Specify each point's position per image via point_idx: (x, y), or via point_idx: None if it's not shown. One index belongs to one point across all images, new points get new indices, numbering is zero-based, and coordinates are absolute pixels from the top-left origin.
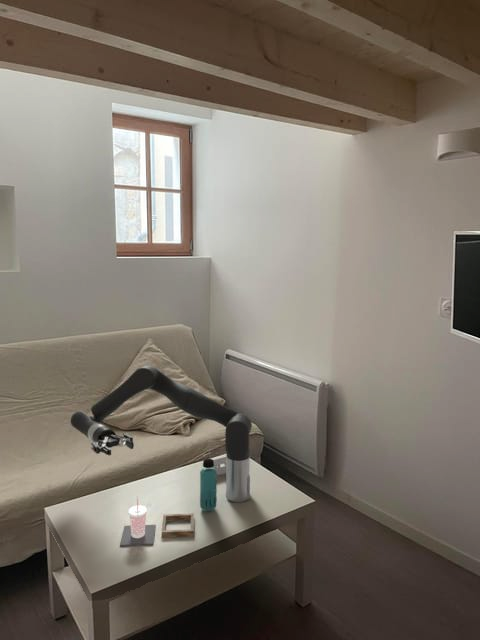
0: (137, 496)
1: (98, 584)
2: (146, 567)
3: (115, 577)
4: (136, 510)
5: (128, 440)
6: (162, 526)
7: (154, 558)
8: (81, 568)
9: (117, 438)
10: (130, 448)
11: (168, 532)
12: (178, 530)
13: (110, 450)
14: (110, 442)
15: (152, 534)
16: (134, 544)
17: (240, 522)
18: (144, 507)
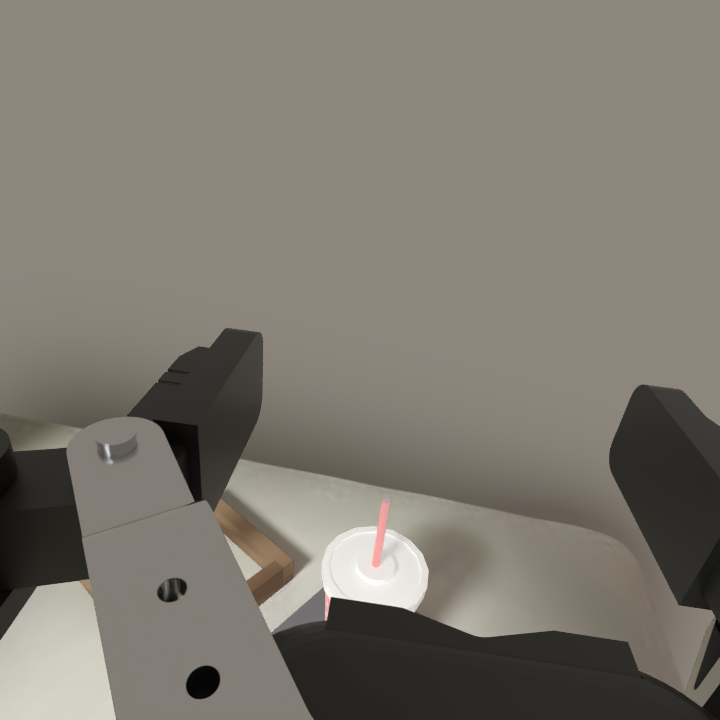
0: (384, 501)
1: (609, 547)
2: (440, 505)
3: (548, 535)
4: (386, 561)
5: (173, 404)
6: (256, 587)
7: (395, 516)
8: (671, 659)
9: (268, 655)
10: (250, 428)
11: (272, 544)
12: (238, 522)
13: (645, 388)
14: (589, 648)
15: (312, 608)
16: (416, 612)
17: (35, 448)
18: (328, 561)
